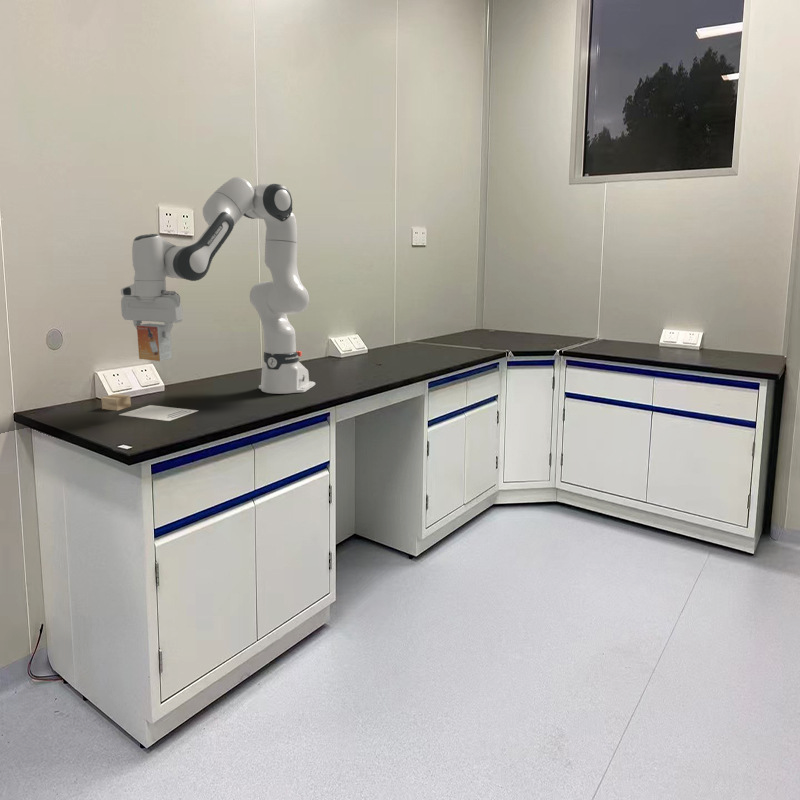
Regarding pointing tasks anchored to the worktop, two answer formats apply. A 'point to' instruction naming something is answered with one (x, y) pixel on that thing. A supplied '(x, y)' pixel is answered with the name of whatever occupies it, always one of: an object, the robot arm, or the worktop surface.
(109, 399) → the beech block
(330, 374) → the worktop surface
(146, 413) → the letter
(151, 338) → the small box
